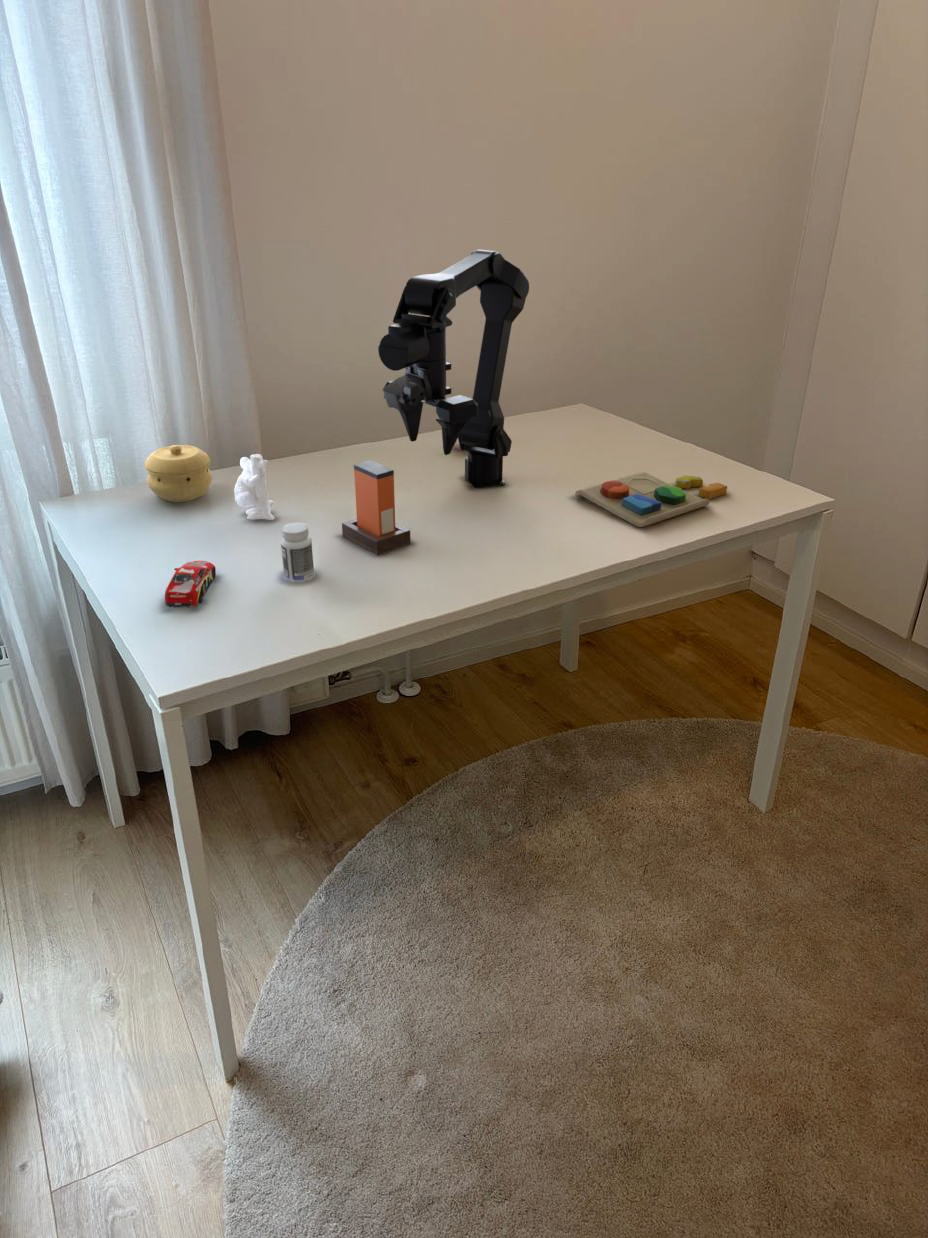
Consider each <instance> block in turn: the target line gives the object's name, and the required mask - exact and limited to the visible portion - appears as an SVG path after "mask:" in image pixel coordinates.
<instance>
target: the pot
mask: <svg viewBox="0 0 928 1238" xmlns="http://www.w3.org/2000/svg"><path fill="white" fill-rule="evenodd" d="M210 465H211V459H210V457H209V456H208V454H207V453H206V452H205V451H204V450H202V449H200V448H198V447H196V446H193V445H188V444H187V445H186V444H173V445H168V446H163V447H161V448H157V449H156V450H154V451H153V452H152V453H150V454H149V456H148V457H147V459H145V462H144V470H145V471H146V473H148V476H147V478H146V484H147V486H148V488H149V489H150V491H152V493H153V494H154V495H155V496H157V497H158V498H160V499H162V500H164V501H167V502H173V503H180V502H188V501H192V500H195V499H198V498H200V497H202V496H204V495H205V494H206V492H207V491H208V490H209V488H210V486H211V484H212V481H213V473H212V471H211V470H210V469H209V467H210Z"/></svg>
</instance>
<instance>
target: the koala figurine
mask: <svg viewBox="0 0 928 1238" xmlns="http://www.w3.org/2000/svg"><path fill="white" fill-rule="evenodd" d="M268 463H269V460H268V459H264V458H263V456H262V454H260V453H254V454H253V453H252V454H250V456H249V457H248V456H243V457H241V458H240V461H239V465H240V468H241V469H242V472H241V474H240V475H239V476H238V478H237V480H236V483H235V485H234V488H233V489H234V490H233V491H234V500H235V502H236V503H237V505H238V506H239V507H241V508H247V507H253V508H249V509H247V510H246V511H245V513H246V515H247V517H246V519H247V520H270V521H272V520H273V521H274V520H275V516H274V515H273V514H272V513H271V511H272V510H271V508H272V506H273V505H274V501H273V500H271V499H269V495H268V489H267V484H268V482H267V481H268V480H267V478H266V473H267V470H266V469H267V465H268Z"/></svg>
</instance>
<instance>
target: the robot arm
mask: <svg viewBox="0 0 928 1238" xmlns="http://www.w3.org/2000/svg"><path fill="white" fill-rule="evenodd" d="M475 287H476V288H477V289H478V290H479V292H480V293H479V295H480V296H479V303H480V306H481V309H482V313H483V315H484V317H485V319H484V326H483V333H482V339H481V343H480V344H481V345H480V350H479V357H478V363H477V368H476V369H477V370H476V376H475V381H474V388H473V394H472V398H471V397H469V396H464V395H463V394H462V395H461V394H458V395H455V396H450V397H446V396H448V395H451V394H452V387H451V386H447V371H451V370H452V363H451V362H448V361H447V328H448V327H450V326H452V325H453V321H452V319H451V318H449V317H448V314H449V313H450V312H451V311H452V310H453V309H454V308H456V306H457V300H458V298H459V297H461V295H464V294H465V293H467V292H468V291H470V290H472V289H473V288H475ZM529 291H530V282H529V280H528V278H527V277H526V275H525V273H524V272H523V271H522V270H521V269H520V268H519V267H518V266H516V265H515V264H513V263H511V262H510V261H508V260H506V259H505V257H504V256H503V255H502V254H501V253H500V252H499V251H496V250H487V249H476V250H473V251H471V253H470V255H468V256H466V257H465V258H463V259H461V260H459V261H458V262H455V263H454V264H452V265H451V266H448V267H447V268H446V269H444V270H441V271H440V272H436V273H425V274H420V275H416V276H415V275H414V276H412V277H410V278H409V279H408V280H407V281H406V283H405V286H404V288H403V290H402V293H401V296H400V299H399V301H398V304H397V307H396V311H395V314H394V316H393V319H392V323H393V324H391V325H388V327H387V332H388V333H387V334H385V335H384V336H383V337H382V338H381V339H380V342H379V345H378V347H377V350H378V351H377V352H378V356H379V359H380V362H381V363H382V364H383V366H384V367H386V368H387V369H388V370H391V371H394V372H397V371H401V370H404V369H405V371H404V374H402V375H401V376H399V377H397V378H395V379H394V380H389V381H387V382H386V383H385V385H384V386H383V388H382V392H383V399H384V400H385V401H386V405H387V407H388V408H393V409H395V410H397V411H398V412H399V414H400V416H401V418H402V421H403V425H404V427H405V430H406V432H407V436H408V438H409V442H411V443H412V442H416V441H417V439H418V435H419V431H420V424H421V419H422V413H423V408H424V404H426V405H429V406H432V407H434V408H435V413H436V415H437V417H438V418H435V421H436V422H437V423H438V424H439V426H441V437H442V450H443V454H444V455H445V456H448V455H451V453H452V451H453V450H454V447H455V445H456V443H457V439H458V441H459V443H458V445H459V447H460V449H461V450H460V449H459V450H460V451H462V452H464V451H465V452H467V457H465V459H464V479H465V480H466V482H468V483H469V484H470V486H471V487H472V488H473V489H479V488H489V487H500V486H501V487H502V486H505V485H506V482H505V480H504V479H503V470H504V469H503V468H504V467H503V465H504V457H507V456H509V453H510V452H511V449H512V441H513V440H512V439H511V437H510V436H509V435H508V433H507V432H506V430H505V429H504V426H505V416H504V413H503V411H502V407H501V405H500V395H501V389H502V384H503V378H504V372H505V366H506V360H507V354H508V348H509V342H510V336H511V331H512V325H513V323H514V321H516V319H517V318H518V316H519V315H520V314H521V312H522V311H523V310H524V308H525V303H526V299H527V297H528V295H529Z"/></svg>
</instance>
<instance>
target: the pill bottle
mask: <svg viewBox="0 0 928 1238" xmlns="http://www.w3.org/2000/svg"><path fill="white" fill-rule="evenodd" d="M309 533H310V532H309V527H308V525H307V523H306V524H305V523H303V522H290V523H287V524H285V525H283V526H282V527H281V536H282V539H281V540H280V551H281V558H282V560H281V561H282V570H283V578H284V579H285V580H286V581H288V582H292V583H305V582H308V581H310V580H311V579H313V578H314V576H315V567H314V565H315V564H314V554H313V542H312V538H311V537H310V536H309Z"/></svg>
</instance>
